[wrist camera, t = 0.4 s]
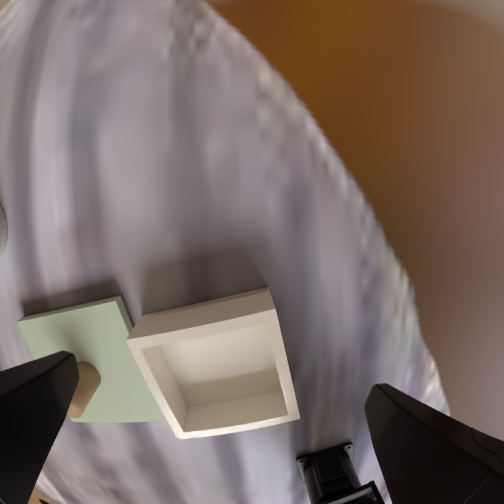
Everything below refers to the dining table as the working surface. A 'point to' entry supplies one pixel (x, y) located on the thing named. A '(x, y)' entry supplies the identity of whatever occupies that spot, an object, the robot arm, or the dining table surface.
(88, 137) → the dining table surface
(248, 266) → the dining table surface
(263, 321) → the cream square tray
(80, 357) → the lid
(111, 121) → the dining table surface
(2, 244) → the coffee cup
